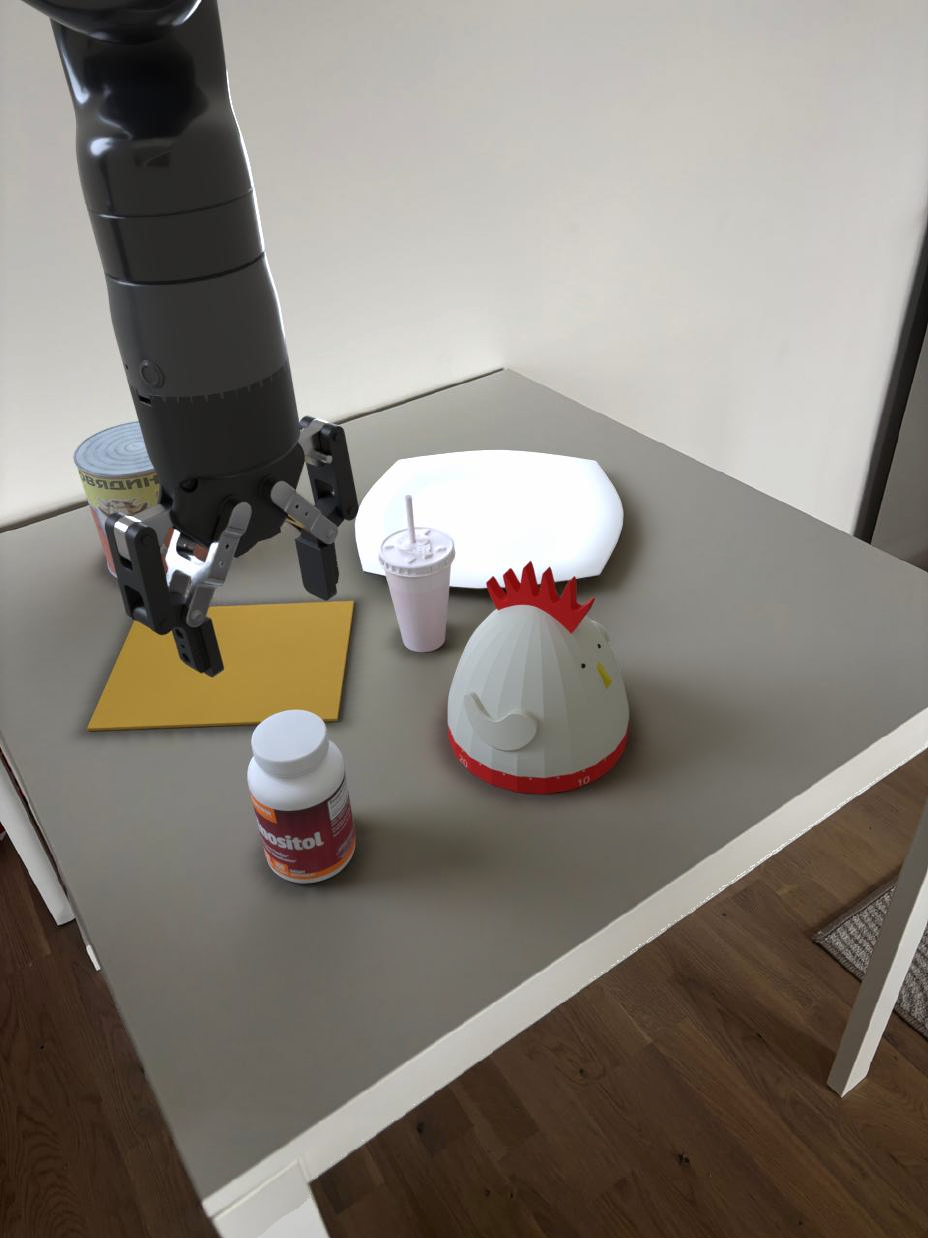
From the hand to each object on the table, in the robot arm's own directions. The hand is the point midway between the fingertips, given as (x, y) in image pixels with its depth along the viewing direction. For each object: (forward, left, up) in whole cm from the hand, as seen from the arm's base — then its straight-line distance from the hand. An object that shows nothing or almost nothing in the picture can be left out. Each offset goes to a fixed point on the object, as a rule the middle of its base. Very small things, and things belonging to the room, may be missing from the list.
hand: (266, 630), depth 55 cm
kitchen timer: (+14, +14, -19) cm, 28 cm away
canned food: (-26, +35, -19) cm, 48 cm away
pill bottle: (0, 0, -19) cm, 19 cm away
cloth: (-13, +19, -19) cm, 30 cm away
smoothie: (+3, +24, -19) cm, 31 cm away
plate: (+6, +43, -19) cm, 47 cm away
